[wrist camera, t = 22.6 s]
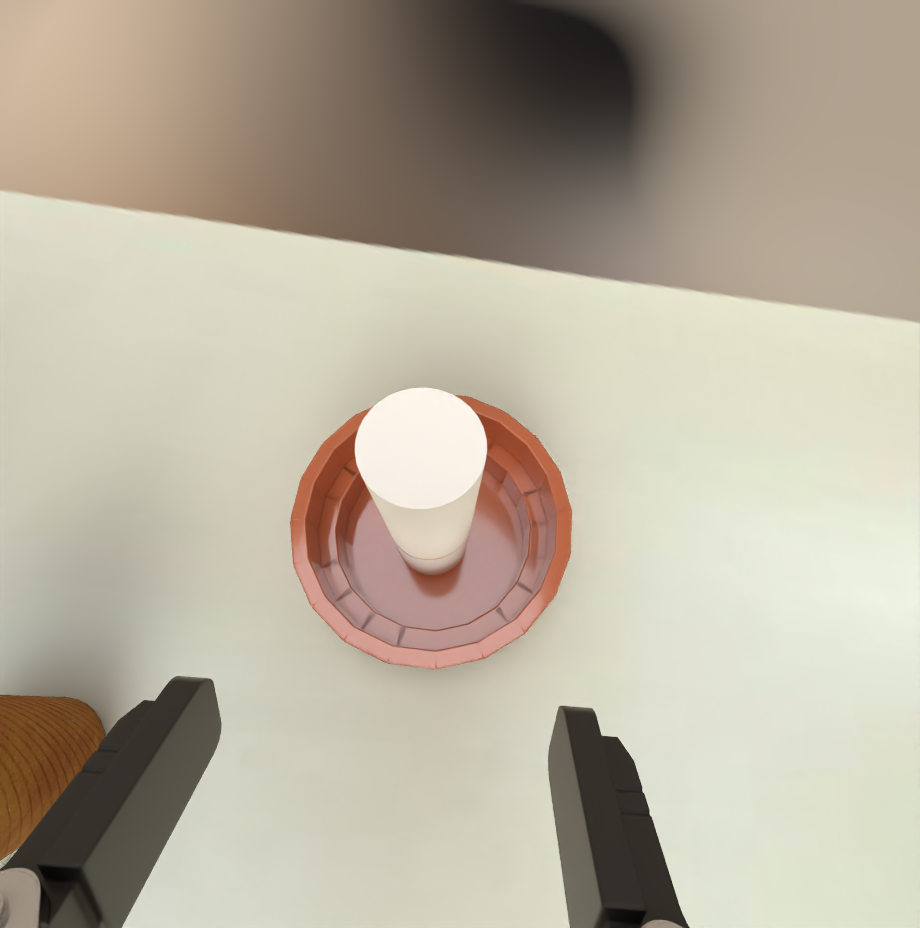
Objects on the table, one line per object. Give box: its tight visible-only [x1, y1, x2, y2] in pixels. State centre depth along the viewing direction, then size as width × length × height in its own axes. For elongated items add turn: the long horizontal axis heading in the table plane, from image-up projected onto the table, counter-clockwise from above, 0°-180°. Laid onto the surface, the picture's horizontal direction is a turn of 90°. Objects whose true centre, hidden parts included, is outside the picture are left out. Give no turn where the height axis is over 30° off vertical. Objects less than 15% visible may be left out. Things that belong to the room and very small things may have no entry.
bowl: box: [290, 395, 572, 669], centre depth 27 cm, size 15×15×6 cm
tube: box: [355, 388, 487, 575], centre depth 22 cm, size 4×4×15 cm
